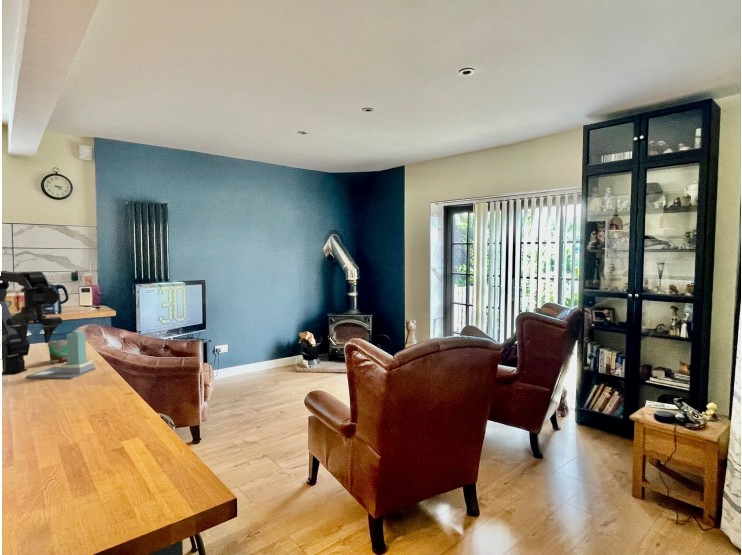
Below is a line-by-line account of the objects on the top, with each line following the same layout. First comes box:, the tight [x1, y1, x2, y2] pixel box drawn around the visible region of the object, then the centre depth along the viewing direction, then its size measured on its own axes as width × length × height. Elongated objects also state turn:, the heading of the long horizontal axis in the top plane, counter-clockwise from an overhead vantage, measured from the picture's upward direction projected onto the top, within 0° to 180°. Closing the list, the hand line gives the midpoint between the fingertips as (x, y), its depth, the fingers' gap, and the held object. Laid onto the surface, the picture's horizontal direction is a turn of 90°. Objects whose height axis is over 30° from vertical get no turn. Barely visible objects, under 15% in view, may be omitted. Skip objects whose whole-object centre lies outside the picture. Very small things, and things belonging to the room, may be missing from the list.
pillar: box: [66, 330, 87, 365], centre depth 178 cm, size 4×4×14 cm
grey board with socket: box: [25, 359, 96, 380], centre depth 176 cm, size 18×14×4 cm
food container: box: [47, 338, 68, 365], centre depth 196 cm, size 12×6×10 cm, turn 179°
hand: (35, 343), depth 173 cm, fingers open, 9 cm apart
